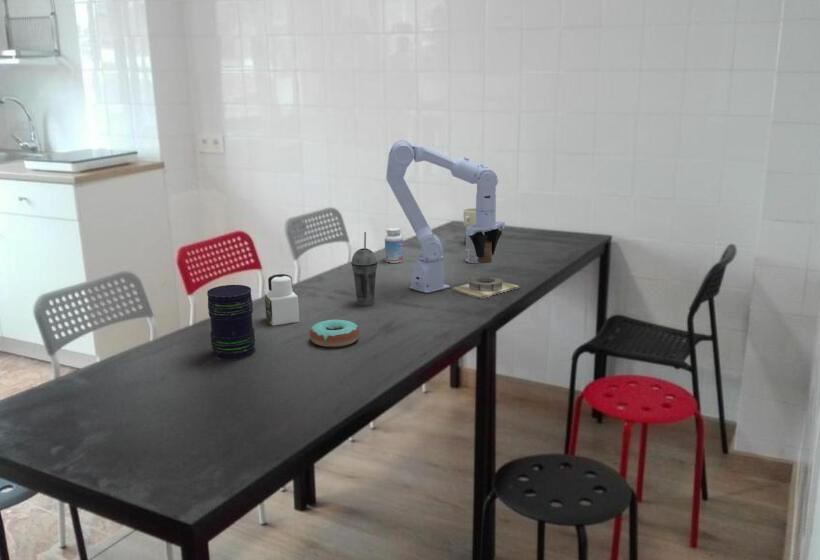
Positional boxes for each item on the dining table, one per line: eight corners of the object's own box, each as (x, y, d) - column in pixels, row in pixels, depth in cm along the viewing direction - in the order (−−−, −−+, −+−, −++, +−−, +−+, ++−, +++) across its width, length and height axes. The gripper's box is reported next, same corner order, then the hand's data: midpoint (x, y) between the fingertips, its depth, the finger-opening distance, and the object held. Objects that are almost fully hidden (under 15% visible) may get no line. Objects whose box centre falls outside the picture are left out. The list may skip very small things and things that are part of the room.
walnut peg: (484, 263, 222) (484, 243, 220) (475, 261, 225) (475, 241, 223) (494, 261, 224) (494, 241, 222) (485, 259, 227) (485, 239, 226)
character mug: (472, 240, 288) (472, 206, 285) (488, 242, 284) (489, 208, 281) (456, 245, 280) (456, 211, 276) (473, 248, 276) (473, 212, 272)
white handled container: (265, 318, 200) (262, 274, 197) (292, 314, 202) (289, 271, 199) (272, 326, 193) (269, 280, 190) (299, 322, 196) (297, 277, 193)
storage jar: (215, 363, 169) (210, 298, 165) (208, 349, 178) (203, 287, 174) (260, 356, 173) (255, 293, 169) (251, 342, 181) (246, 282, 177)
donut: (348, 330, 190) (347, 314, 189) (367, 344, 180) (367, 328, 179) (302, 337, 185) (302, 322, 184) (320, 353, 175) (319, 336, 174)
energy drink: (481, 259, 258) (481, 225, 255) (481, 263, 253) (481, 228, 250) (465, 259, 259) (465, 225, 256) (465, 263, 254) (465, 228, 251)
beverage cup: (348, 305, 209) (345, 234, 204) (358, 298, 216) (356, 229, 211) (372, 308, 207) (370, 236, 202) (382, 300, 213) (380, 230, 208)
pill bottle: (403, 263, 255) (402, 230, 252) (384, 263, 255) (384, 230, 252) (403, 259, 261) (402, 227, 258) (385, 259, 261) (385, 227, 258)
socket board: (481, 299, 213) (481, 289, 213) (451, 290, 222) (451, 281, 222) (519, 288, 224) (519, 279, 223) (489, 280, 232) (489, 271, 232)
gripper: (478, 215, 213) (478, 262, 216) (512, 208, 222) (511, 253, 226) (460, 212, 218) (460, 258, 221) (494, 205, 227) (494, 250, 231)
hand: (485, 255), depth 224 cm, fingers closed on walnut peg, 4 cm apart
